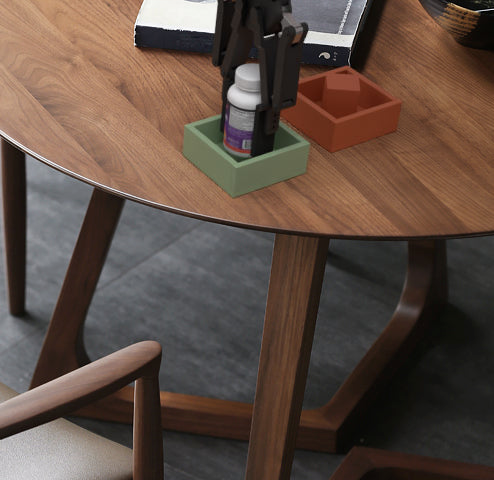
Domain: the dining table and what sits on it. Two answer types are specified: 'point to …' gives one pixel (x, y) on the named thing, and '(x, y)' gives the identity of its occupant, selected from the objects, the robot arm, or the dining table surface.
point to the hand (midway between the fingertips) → (246, 141)
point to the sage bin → (244, 169)
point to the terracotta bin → (349, 127)
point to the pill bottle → (242, 110)
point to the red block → (340, 94)
